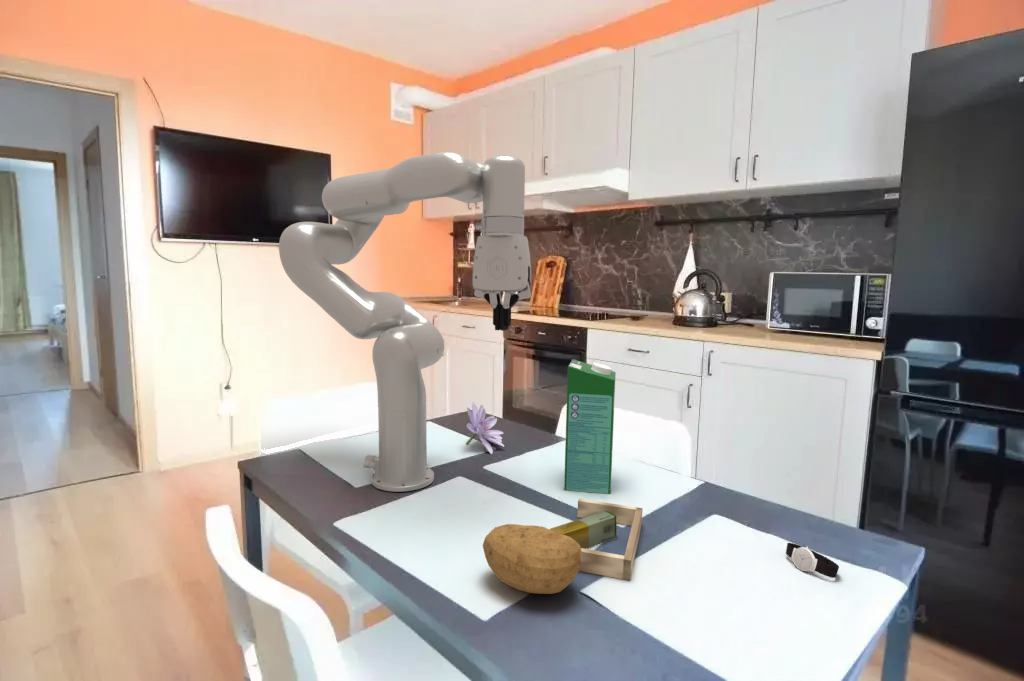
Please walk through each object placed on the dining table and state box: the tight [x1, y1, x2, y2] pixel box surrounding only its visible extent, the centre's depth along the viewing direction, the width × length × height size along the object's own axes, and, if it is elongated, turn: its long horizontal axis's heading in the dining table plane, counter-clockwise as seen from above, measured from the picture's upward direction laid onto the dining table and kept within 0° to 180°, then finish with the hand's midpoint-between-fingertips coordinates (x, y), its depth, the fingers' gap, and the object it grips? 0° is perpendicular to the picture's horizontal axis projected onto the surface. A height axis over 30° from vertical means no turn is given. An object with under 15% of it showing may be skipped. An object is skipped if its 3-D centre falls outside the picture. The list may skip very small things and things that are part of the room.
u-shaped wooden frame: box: [576, 498, 643, 582], centre depth 86 cm, size 11×18×3 cm, turn 161°
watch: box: [785, 542, 840, 579], centre depth 80 cm, size 8×5×4 cm, turn 25°
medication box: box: [549, 511, 618, 549], centre depth 86 cm, size 12×3×4 cm, turn 123°
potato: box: [482, 523, 582, 595], centre depth 74 cm, size 10×14×8 cm
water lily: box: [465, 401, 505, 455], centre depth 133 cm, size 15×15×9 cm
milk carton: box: [563, 358, 617, 495], centre depth 109 cm, size 9×9×25 cm
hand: (501, 329), depth 100 cm, fingers closed
